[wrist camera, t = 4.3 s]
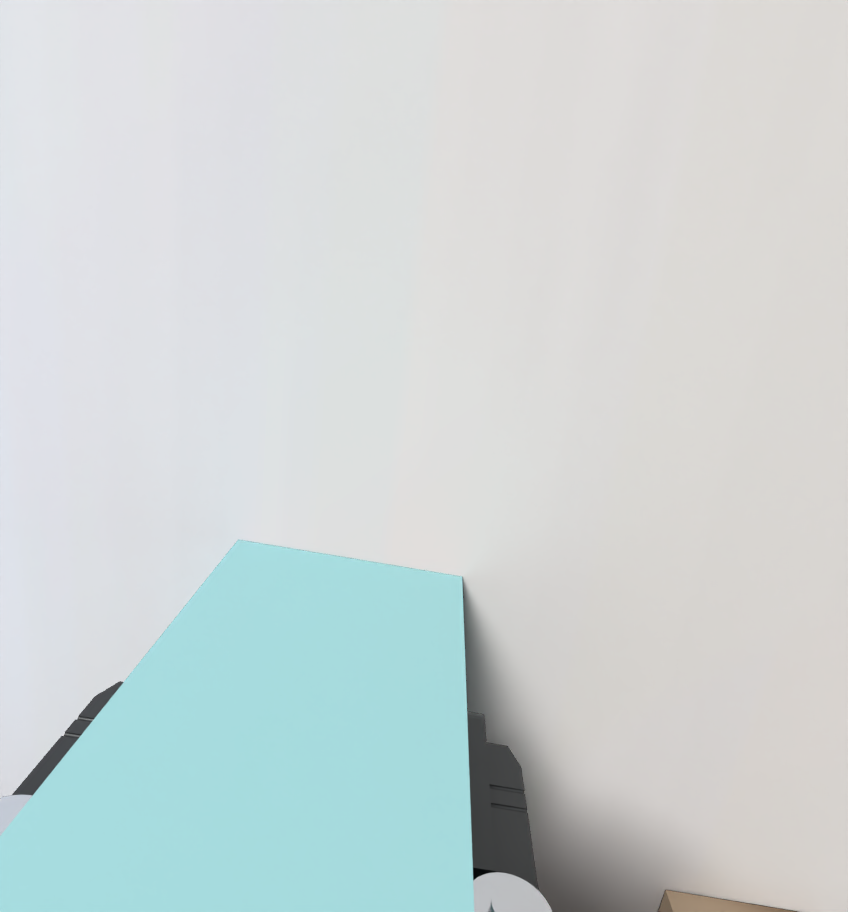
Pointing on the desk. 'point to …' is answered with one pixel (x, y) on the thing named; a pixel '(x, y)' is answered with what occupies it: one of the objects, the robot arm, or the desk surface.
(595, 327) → the desk surface
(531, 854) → the robot arm
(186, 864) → the teal block
